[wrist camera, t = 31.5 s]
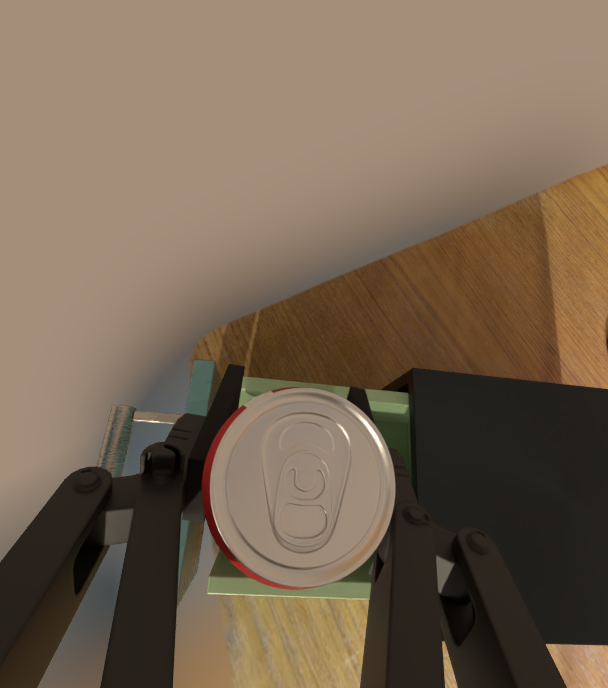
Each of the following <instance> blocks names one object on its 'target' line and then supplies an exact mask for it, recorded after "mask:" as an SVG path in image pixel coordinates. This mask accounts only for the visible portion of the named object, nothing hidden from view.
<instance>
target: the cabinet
mask: <svg viewBox="0 0 608 688" xmlns="http://www.w3.org/2000/svg"><path fill="white" fill-rule="evenodd" d="M381 390H384V391H394V392H404V393H409V416H410V444H411V472H412V486H413V489H414V492H415V495H416V498H417V501H418V504H419V505H421V506H422V507H424V508H425V509H426V510H427V511H428V512H429V514H430V515H431V517H432V520H433V522H434V523H436V524H438V525H440V526H442V527H444V528H446V529H449V530H451V531H453V532H455V533H457V532H458V530H459V528H461V527H463V526H471V527H474V528H477V529H479V530H481V531H482V532H484V533H486V534H487V535H488V536H489V537H490V538H491V539H492V540H493V542H494V543H495V544H496V546H497V548H498V550H499V552H500V554H501V556H502V558H503V560H504V562H505V564H506V566H507V568H508V570H509V572H510V574H511V576H512V578H513V580H514V582H515V584H516V586H517V588H518V590H519V592H520V594H521V596H522V598H523V600H524V602H525V604H526V606H527V608H528V610H529V612H530V614H531V616H532V618H533V620H534V622H535V624H536V626H537V628H538V630H539V632H540V634H541V636H542V638H543V640H544V642H545V644H571V645H608V389H602V388H593V387H583V386H574V385H565V384H556V383H547V382H538V381H528V380H519V379H510V378H501V377H492V376H482V375H473V374H464V373H455V372H446V371H436V370H427V369H418V368H412V369H411V370H409V371H408V372H406V373H405V374H403V375H402V376H400V377H399V378H397V379H396V380H394V381H393V382H392V383H390V384H389V385H387V386H386V387H384V388H383V389H381ZM441 637H442V641H445V639H444V635H443V632H442V628H441Z"/></svg>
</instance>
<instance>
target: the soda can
mask: <svg viewBox="0 0 608 688" xmlns="http://www.w3.org/2000/svg"><path fill="white" fill-rule="evenodd" d="M202 501H203V508H204V513H205V517H206V521H207V524H208V527H209V529H210V532H211V534H212V536H213V538H214V540H215V542H216V544H217V545H218V547H219V548H220V550H221V551H222V553H223V554H224V555H225V556H226V557H227V559H228V560H229V561H230V562H231V563H232V564H233V565H234V566H235V567H236V568H238V569H239V570H240V571H242V572H243V573H244V574H246V575H247V576H249V577H250V578H252V579H254V580H256V581H258V582H260V583H262V584H265V585H268V586H271V587H275V588H280V589H288V590H304V589H311V588H315V587H320V586H324V585H328V584H331V583H333V582H336V581H339V580H340V579H342V578H344V577H346V576H348V575H349V574H351V573H352V572H354V571H355V570H357V569H358V568H359V567H360V566H361V565H363V564H364V563H365V562H366V561H367V560H368V559H369V557H370V556H371V555H372V554H373V553H374V551H375V550H376V549H377V547H378V546H379V544H380V542H381V541H382V539H383V537H384V535H385V533H386V531H387V528H388V526H389V523H390V520H391V517H392V513H393V508H394V502H395V474H394V468H393V463H392V459H391V456H390V453H389V450H388V447H387V445H386V443H385V441H384V439H383V437H382V435H381V433H380V432H379V430H378V429H377V427H376V426H375V425H374V423H373V422H372V421H371V420H370V418H369V417H368V416H367V415H366V414H365V413H364V412H363V411H361V410H360V409H359V408H358V407H357V406H355V405H354V404H352V403H351V402H350V401H348V400H346V399H344V398H343V397H340V396H338V395H336V394H333V393H331V392H328V391H324V390H320V389H313V388H306V387H287V388H280V389H276V390H272V391H269V392H266V393H263V394H261V395H259V396H257V397H255V398H253V399H251V400H250V401H248V402H247V403H245V404H244V405H242V406H241V407H240V408H239V409H237V410H236V411H235V412H234V413H233V414H232V415H231V416H230V417H229V418H228V419H227V420H226V422H225V423H224V424H223V426H222V427H221V428H220V430H219V432H218V433H217V435H216V436H215V438H214V440H213V442H212V444H211V447H210V449H209V452H208V454H207V458H206V461H205V465H204V470H203V478H202Z"/></svg>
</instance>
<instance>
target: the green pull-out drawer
mask: <svg viewBox="0 0 608 688" xmlns="http://www.w3.org/2000/svg"><path fill="white" fill-rule="evenodd" d="M220 384H221V380H220V377H219V373H218V370H217V366H216V363H215V361H210V360H200V359H195V361H194V366H193V372H192V377H191V383H190V388H189V394H188V400H187V405H186V411H185V413H190V414H196V415H201V416H207V414H208V412H209V409H210V407H211V405H212V402H213V400H214V398H215V396H216V393H217V391H218V389H219V386H220ZM287 387H306V388H313V389H320V390H324V391H328V392H331V393H333V394H336V395H338V396H340V397H343V398H344V399H347V396H348V393H349V389H350V387H345V386H335V385H325V384H315V383H305V382H295V381H285V380H275V379H266V378H256V377H246V376H243V382H242V388H241V394H240V400H239V407H238V409H239V408H240V407H241V406H242V405H244V404H245V403H247V402H248V401H250V400H251V399H253V398H255V397H257V396H259V395H261V394H263V393H266V392H269V391H272V390H276V389H280V388H287ZM361 389H365V388H361ZM365 390H366V394H367V397H368V401H369V405H370V408H371V412H372V415H373V419H374V423H375V426H376V427H377V429H378V430H379V432H380V433H381V435H382V437H383V439H384V441H385V443H386V445H387V447H388V448H393V449H396V450H397V452H398V453H399V454H400V455H401V456H402V458H403V460H404V463H405V466H406V469H407V472H408V474H409V477H410V480H411V483H412V472H411V444H410V416H409V393H404V392H394V391H384V390H374V389H365ZM181 416H183V415H178V414H168V413H156V412H145V411H136V408H134V407H130V406H124V405H113V406H112V408H111V412H110V416H109V420H108V424H107V428H106V432H105V436H104V440H103V444H102V448H101V452H100V456H99V459H98V463H97V467H101V468H104V469H107V470H108V471H109V472H110V473H111V476H112V478H115V477H121V475H122V471H123V466H124V462H125V458H126V453H127V449H128V444H129V440H130V436H131V432H132V427H133V423H134V421H136V422H147V423H158V424H171V425H174V424H175V422H176V420H177V419H178V418H180V417H181ZM182 515H183V512H182ZM182 515H181V532H180V551H179V571H178V591H177V607H178V605H179V603H180V601H181V599H182V598H183V596H184V594H185V592H186V591H187V589H188V587H189V585H190V583H191V582H192V580H193V578H194V576H195V574H196V573H197V569H198V563H199V555H200V549H201V541H202V535H203V529H204V523H201V522H194V521H188V520H182ZM377 550H378V549H376V550H375V551H374V553H373V554H372V555H371V556H370V557H369V559H368V560H367V561H366V562H365V563H364V564H363V565H361V566H360V567H359V568H358V569H357V570H355V571H354V572H352V573H351V574H349V575H348V576H346V577H344V578H342V579H340V580H339V581H336V582H333V583H331V584H328V585H324V586H320V587H315V588H311V589H304V590H288V589H280V588H275V587H271V586H268V585H265V584H262V583H260V582H258V581H256V580H254V579H252V578H250V577H249V576H247V575H246V574H244V573H243V572H242V571H240V570H239V569H238V568H236V567H235V566H234V565H233V564H232V563H231V562H230V561H229V560H228V559H227V557H226V556H225V555H224V554H223V553H222V551H221V550H220V548H219V553H218V556H217V558H216V561H215V563H214V565H213V568H212V571H211V573H210V575H209V580H208V587H207V593H208V594H224V595H251V596H279V597H306V598H333V599H360V600H369V599H370V590H371V581H372V573H371V575H369V574H368V572H369V569H370V566H371V564H372V562H373V559H374V557H375V555H376V552H377Z"/></svg>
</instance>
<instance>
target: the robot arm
mask: <svg viewBox="0 0 608 688" xmlns="http://www.w3.org/2000/svg"><path fill="white" fill-rule="evenodd" d="M244 369H245V367H244V366H239V365H233V364H229V365H228V368H227V370H226V372H225V375H224V377H223V379H222V382H221V384H220V386H219V389H218V391H217V393H216V396H215V398H214V400H213V402H212V405H211V407H210V409H209V412H208V414H207V416H201V415H196V414H190V413H185V414H184V415H183V416H181V417H180V418H178V419H177V420H176V422H175V424H174V426H173V428H172V430H171V432H170V433H169V435H168V437H167V439H166V441H165V442H158V443H155V444H152V445H150V446H148V447H147V448H146V449H144V450H143V452H142V454H141V459H140V460H141V461H140V473H139V474H136V475H132V476H126V477H115V478H112V476H111V473H110V472H109V471H108V470H107V469H104V468H101V467H86V468H83V469H79V470H77V471H75V472H73V473H71V474H70V475H69V476H68V477H67V478H66V479H65V480H64V481H63V483H62V484H61V485H60V487H59V488H58V489H57V490H56V492H55V493H54V494H53V496H52V497H51V498H50V499H49V501H48V502H47V503H46V505H45V506H44V507H43V508H42V510H41V511H40V512H39V513H38V515H37V516H36V517H35V519H34V520H33V521H32V522H31V524H30V525H29V526H28V527H27V529H26V530H25V531H24V533H23V534H22V535H21V537H20V538H19V539H18V540H17V542H16V543H15V544H14V546H13V547H12V548H11V549H10V551H9V552H8V553H7V555H6V556H5V557H4V558H3V560H2V561H1V562H0V688H37V687H38V685H39V683H40V681H41V679H42V677H43V675H44V673H45V671H46V669H47V667H48V665H49V663H50V661H51V659H52V657H53V656H54V653H55V652H56V650H57V648H58V646H59V644H60V642H61V640H62V638H63V636H64V634H65V632H66V630H67V628H68V626H69V624H70V623H71V621H72V619H73V617H74V615H75V613H76V611H77V609H78V607H79V605H80V603H81V601H82V599H83V597H84V595H85V593H86V591H87V590H88V587H89V586H90V584H91V582H92V580H93V578H94V576H95V574H96V572H97V570H98V568H99V566H100V564H101V562H102V560H103V558H104V556H105V555H106V553H107V551H108V549H109V547H110V545H114V544H121V543H127V548H126V553H125V558H124V564H123V569H122V575H121V580H120V586H119V590H118V596H117V601H116V606H115V612H114V617H113V622H112V628H111V633H110V639H109V644H108V649H107V655H106V660H105V666H104V671H103V676H102V681H101V687H100V688H173V669H174V648H175V629H176V609H177V591H178V571H179V551H180V532H181V515H182V512H183V515H182V520H188V521H194V522H201V523H204V522H205V518H206V517H205V513H204V508H203V501H202V478H203V470H204V465H205V461H206V458H207V454H208V452H209V449H210V447H211V444H212V442H213V440H214V438H215V436H216V435H217V433H218V432H219V430H220V428H221V427H222V426H223V424H224V423H225V422H226V420H227V419H228V418H229V417H230V416H231V415H232V414H233V413H234V412H235V411H236V410H237V409H238V407H239V400H240V394H241V388H242V382H243V376H244ZM346 400H348V401H350V402H351V403H352V404H354V405H355V406H357V407H358V408H359V409H360V410H361V411H363V412H364V413H365V414H366V415H367V416H368V417H369V418H370V420H371V421H372V422H373V423H374V419H373V415H372V412H371V408H370V405H369V401H368V397H367V394H366V390H365V389H361V388H356V387H351V386H350V389H349V393H348V396H347V399H346ZM374 425H375V423H374ZM388 450H389V453H390V456H391V459H392V463H393V468H394V474H395V502H394V508H393V513H392V517H391V520H390V523H389V526H388V528H387V531H386V533H385V535H384V537H383V539H382V541H381V542H380V544H379V546H378V547H377V549H378V550H377V552H376V555H375V557H374V559H373V562H372V564H371V566H370V569H369V572H368V574H369V575H371V573H372V581H371V590H370V599H369V609H368V618H367V628H366V637H365V646H364V656H363V665H362V674H361V684H360V688H445V680H444V666H443V651H442V637H441V628H442V632H443V635H444V639H445V643H446V646H447V650H448V653H449V657H450V660H451V664H452V668H453V671H454V675H455V678H456V682H457V686H458V688H567V687H566V685H565V683H564V681H563V679H562V677H561V675H560V673H559V671H558V669H557V667H556V665H555V663H554V661H553V659H552V657H551V655H550V653H549V651H548V649H547V647H546V645H545V642H544V640H543V638H542V636H541V634H540V632H539V630H538V628H537V626H536V624H535V622H534V620H533V618H532V616H531V614H530V612H529V610H528V608H527V606H526V604H525V602H524V600H523V598H522V596H521V594H520V592H519V590H518V588H517V586H516V584H515V582H514V580H513V578H512V576H511V574H510V572H509V570H508V568H507V566H506V564H505V562H504V560H503V558H502V556H501V554H500V552H499V550H498V548H497V546H496V544H495V543H494V542H493V540H492V539H491V538H490V537H489V536H488V535H487V534H486V533H484V532H482V531H481V530H479V529H477V528H474V527H471V526H463V527H461V528H459V530H458V532H457V533H455V532H453V531H451V530H449V529H446V528H444V527H442V526H440V525H438V524H436V523H434V522H433V520H432V517H431V515H430V514H429V512H428V511H427V510H426V509H425V508H424V507H422V506H421V505H419V504H418V501H417V498H416V495H415V492H414V489H413V486H412V483H411V480H410V477H409V474H408V472H407V469H406V466H405V463H404V460H403V458H402V456H401V455H400V454H399V453H398V452H397V450H396V449H393V448H388Z"/></svg>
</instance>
